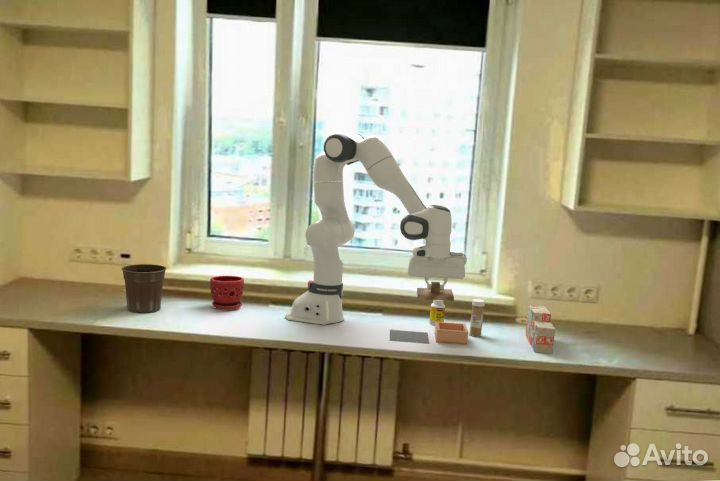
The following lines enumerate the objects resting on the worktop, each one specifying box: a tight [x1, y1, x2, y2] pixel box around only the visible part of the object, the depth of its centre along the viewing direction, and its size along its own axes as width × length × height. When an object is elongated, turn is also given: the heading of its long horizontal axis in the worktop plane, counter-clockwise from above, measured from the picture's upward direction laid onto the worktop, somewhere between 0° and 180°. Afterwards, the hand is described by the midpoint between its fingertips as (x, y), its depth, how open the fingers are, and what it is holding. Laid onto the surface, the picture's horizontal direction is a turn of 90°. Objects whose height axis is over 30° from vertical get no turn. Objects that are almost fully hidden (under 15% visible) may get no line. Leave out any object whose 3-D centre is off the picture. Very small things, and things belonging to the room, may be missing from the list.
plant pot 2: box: [209, 275, 245, 311], centre depth 278 cm, size 13×13×12 cm
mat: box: [389, 329, 430, 345], centre depth 255 cm, size 14×14×1 cm
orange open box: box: [434, 321, 469, 346], centre depth 255 cm, size 11×11×5 cm
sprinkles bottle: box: [468, 298, 486, 338], centre depth 263 cm, size 5×5×13 cm
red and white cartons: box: [525, 304, 556, 355], centre depth 257 cm, size 21×6×12 cm, turn 176°
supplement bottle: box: [428, 300, 446, 327], centre depth 273 cm, size 6×6×10 cm
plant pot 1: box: [121, 263, 167, 314], centre depth 267 cm, size 16×16×16 cm
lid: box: [416, 281, 455, 302], centre depth 252 cm, size 12×12×5 cm
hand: (435, 289), depth 252 cm, fingers closed on lid, 3 cm apart
